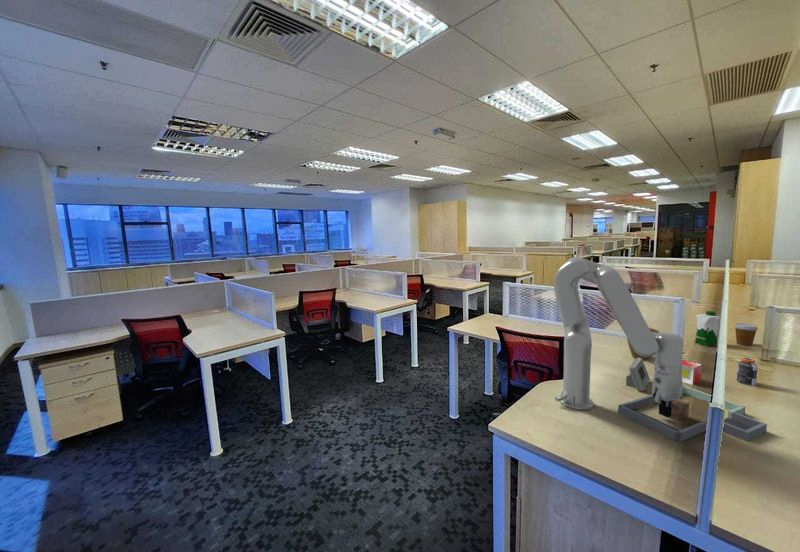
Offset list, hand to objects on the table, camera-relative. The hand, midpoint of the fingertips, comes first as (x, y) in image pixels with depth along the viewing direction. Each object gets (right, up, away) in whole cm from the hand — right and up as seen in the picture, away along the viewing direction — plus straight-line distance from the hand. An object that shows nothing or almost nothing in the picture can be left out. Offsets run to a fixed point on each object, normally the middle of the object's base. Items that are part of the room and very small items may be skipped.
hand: (664, 415), depth 117 cm
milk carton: (+88, +10, +75) cm, 116 cm away
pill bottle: (+58, +3, +26) cm, 64 cm away
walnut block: (+5, -1, +2) cm, 6 cm away
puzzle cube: (+36, +3, +31) cm, 47 cm away
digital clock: (+11, +1, +27) cm, 30 cm away
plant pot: (+36, +6, +59) cm, 69 cm away
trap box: (+11, -1, 0) cm, 11 cm away
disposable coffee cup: (+108, +10, +72) cm, 131 cm away
